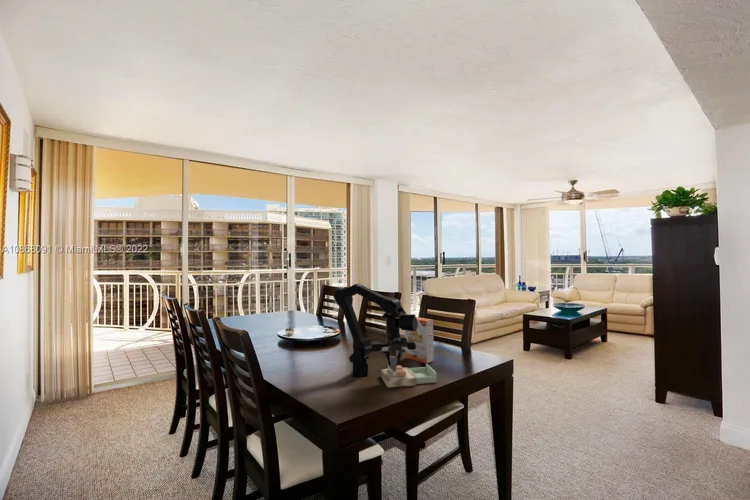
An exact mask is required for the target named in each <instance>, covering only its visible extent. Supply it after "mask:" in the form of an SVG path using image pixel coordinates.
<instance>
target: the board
mask: <svg viewBox="0 0 750 500" xmlns="http://www.w3.org/2000/svg"><path fill="white" fill-rule="evenodd" d="M402 368H403V369H404V370H405V372H406V376H398V377H393V376H392V374H391V373H390V371H389V370H388V368H382V369H380V376H381V378H382V380H383V382H384V384H385V385H386V387H387V388H397V387H411V386H417V384H416V377H415V376H414V374H413V373H412V372H411V371H410V370H409V368H410V367H402Z"/></svg>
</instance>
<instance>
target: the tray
mask: <svg viewBox="0 0 750 500" xmlns="http://www.w3.org/2000/svg"><path fill="white" fill-rule="evenodd" d="M408 368H409V370H410V371H411V372H412V373H413V374H414V376H415V377H416V385H419V384H432V383H433V384H435V383H437V380H438V379H437V378H438V377H437V371H436V370H434V369H433V368H432V367H431V366H430V365H429V363H427V364H426V363H425V366H422V367H419V366H418V367H408Z"/></svg>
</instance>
